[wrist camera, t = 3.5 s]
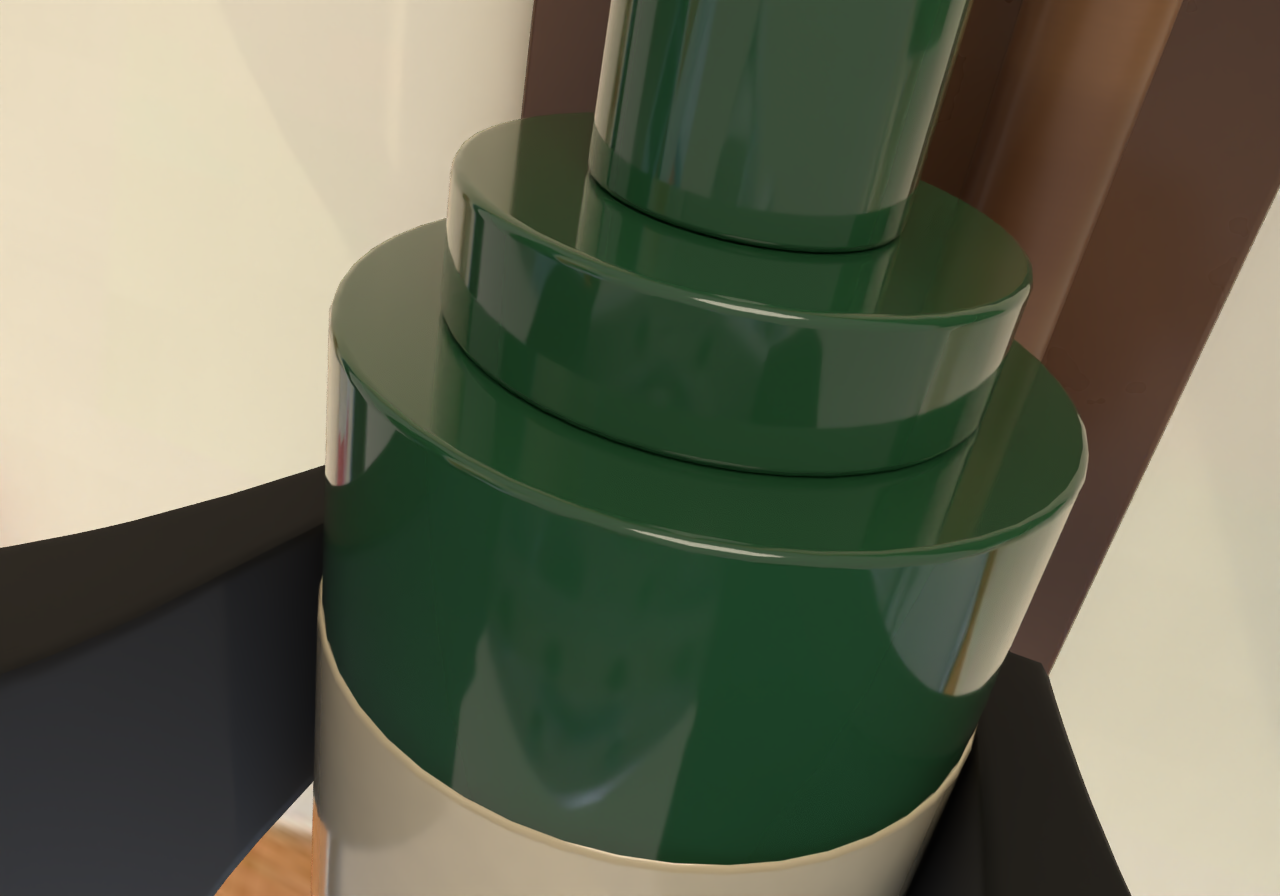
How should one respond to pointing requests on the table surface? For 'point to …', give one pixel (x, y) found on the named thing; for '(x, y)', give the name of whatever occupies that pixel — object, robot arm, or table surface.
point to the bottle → (682, 480)
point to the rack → (1078, 205)
